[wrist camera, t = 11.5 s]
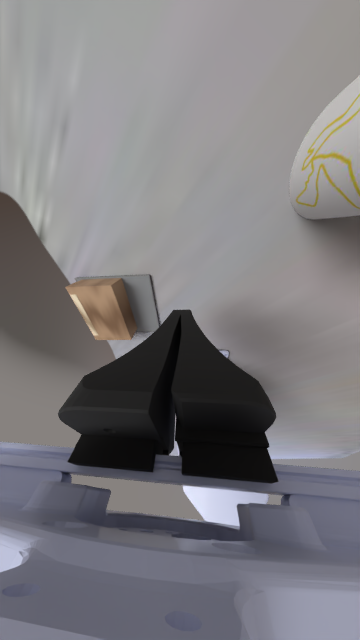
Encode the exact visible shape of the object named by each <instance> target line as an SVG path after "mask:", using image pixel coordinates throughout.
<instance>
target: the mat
mask: <svg viewBox="0 0 360 640" xmlns="http://www.w3.org/2000/svg"><path fill="white" fill-rule="evenodd" d="M108 278H122V281H123V284H124V287H125V290H126V294H127V297H128V300H129V303H130V306H131V309H132V313H133V316H134V319H135V322H136V325H137V330H136V332H155V331H156V330H157V329H158V328H159V327H160V326H159V321H158V316H157V310H156V305H155V300H154V294H153V289H152V283H151V278H150V275H126V276H101V277H77V278H75V280H76V282H78V281H80V280H85V279H108Z"/></svg>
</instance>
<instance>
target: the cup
mask: <svg viewBox="0 0 360 640" xmlns="http://www.w3.org/2000/svg"><path fill="white" fill-rule="evenodd" d="M289 195H290V200H291V204H292V206H293V208H294V209H295V211H296V212H297V213H298V214H299V215H301V216H302V217H304V218H307V219H326V218H337V217H349V216H360V75H359V76H358V77H357V78H356V79H355V80H354V81H353V82H352V83H351V84H350V85H348V86H347V87H346V88H345V89H344V90H343V91H342V92H341V93H340V94H339V95H338V96H337V97H335V98H334V99H333V100H332V101H331V103H330V104H329V105H328V106H327V107H326V108H325V109H324V110H323V112H322V113H321V114H320V115H319V117H318V118H317V119H316V121H315V122H314V124H313V125H312V126H311V128H310V130H309V131H308V133H307V135H306V136H305V138H304V140H303V142H302V144H301V146H300V148H299V150H298V153H297V155H296V158H295V160H294V163H293V167H292V170H291V175H290V182H289Z"/></svg>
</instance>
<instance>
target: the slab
mask: <svg viewBox="0 0 360 640" xmlns="http://www.w3.org/2000/svg"><path fill="white" fill-rule="evenodd" d="M66 289H67V291H68V293H69V294H70V296H71V298H72V299H73V301H74V303H75V305H76V306H77V308H78V310H79V311H80V313H81V315H82V317H83V318H84V320H85V322H86V323H87V325H88V327H89V328H90V330H91V332H92V334H93V335H94V337H95V339H96V340H131V339H132V337H133V336H134V334H135V332H136V330H137V325H136V322H135V319H134V316H133V313H132V309H131V306H130V303H129V300H128V297H127V294H126V290H125V287H124V284H123V281H122V278H108V279H85V280H80V281H78V282H75V283H73V284H71V285H69V286H67V287H66Z"/></svg>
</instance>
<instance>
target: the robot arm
mask: <svg viewBox="0 0 360 640" xmlns="http://www.w3.org/2000/svg"><path fill="white" fill-rule="evenodd" d="M225 354H226V355H225ZM228 355H229V352H228V351H226V350H218V349H217V348H216V347H215V346H214V345H213V344H212V343H211V342H210V341H209V340H208V339H207V337H206V336H205V335H204V334H203V332H202V331H201V329H200V328H199V326H198V325H197V323H196V321H195V320H194V317H193V315H192V312H191V310H173V311H172V312H171V314H170V315H169V316H168V318H167V319H166V320H165V321H164V322H163V324H162V325H161V326H160V327H159V328H158V329H157V330H156V331H155V332H154V333H153V334H152V335H151V336H150V337H148V338H147V339H146V340H145V341H144V342H142V343H141V344H139V345H138V346H137V347H135V348H134V349H132V350H131V351H129V352H128V353H126V354H125V355H123V356H121V357H120V358H118V359H116V360H115V361H113V362H111V363H109V364H108V365H105V366H103V367H101V368H100V369H98V370H96V371H94V372H92V373H90V374H88V375H86V376H84V377H83V379H82V380H81V381H80V383H79V384H78V385H77V387H76V388H75V390H74V391H73V392H72V394H71V395H70V396H69V398H68V399H67V400H66V402H65V403H64V405H63V406H62V407H61V409H60V410H59V413H58V416H59V418H60V420H61V421H62V422H64V423H65V424H66V425H68V426H69V427H71V428H73V429H74V430H76V431H77V432H79V433H80V434H82V435H81V437H80V439H79V441H78V442H77V444H76V446H75V448H70V447H59V446H46V445H33V444H22V443H10V442H0V640H360V471H352V470H341V469H328V468H316V467H304V466H292V465H279V464H272V461H271V458H270V455H269V453H268V450H267V448H268V447H269V443H268V440H267V437H266V435H265V431H266V430H267V429H268V428H269V427H270V426H271V425H272V424H273V422H274V421H275V419H276V413H275V411H274V408H273V406H272V404H271V402H270V400H269V398H268V396H267V395H266V393H265V391H264V390H263V388H262V386H261V385H260V383H259V381H257V380H256V379H255V378H253V377H252V376H250V375H249V374H247V373H246V372H245V371H243V370H242V369H240V368H239V367H237V366H236V365H235V364H234V363H232V362H231V361H230V360H229V359H228ZM175 413H176V431H175ZM174 433H175V441H177V444H178V455H179V456H169V454H170V453H171V452H172V450H173V449H174ZM70 474H74V475H84V476H95V477H104V478H115V479H125V480H134V481H144V482H155V483H164V484H175V485H183V491H184V493H185V494H186V496H187V497H188V498H189V500H190V501H191V502H192V504H193V505H194V506H195V508H196V509H197V510H198V512H199V513H200V514H201V516H202V517H203V518H204V520H205V521H200V520H193V519H186V518H178V517H170V516H160V515H152V514H143V513H132V512H123V511H113V510H106V508H107V504H108V501H109V497H110V494H111V491H110V490H108V489H102V488H96V487H91V486H87V485H79V484H72V483H71V478H72V477H71V475H70ZM268 494H273V495H283V497H282V499H281V505H269V504H267V501H268V499H269V496H268Z"/></svg>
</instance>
